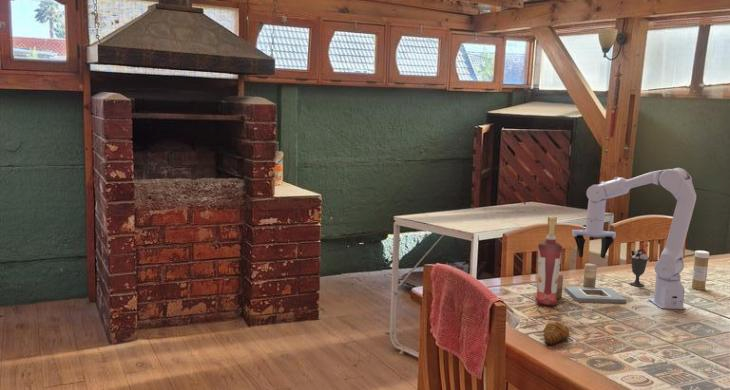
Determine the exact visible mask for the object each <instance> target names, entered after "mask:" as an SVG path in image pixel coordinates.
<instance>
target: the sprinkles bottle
mask: <svg viewBox="0 0 730 390" xmlns="http://www.w3.org/2000/svg"><path fill="white" fill-rule="evenodd" d="M709 259H710V252H709V251H706V250H701V249H700V250H695V252H694V261H693V262H694V264H693V271H692V277H691V278H692V282H691V288H692V289H693V290H699V291H703V290H705V289H706V282H707V276H708V269H709V268H708V267H709V266H708V265H709Z"/></svg>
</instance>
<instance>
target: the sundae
mask: <svg viewBox="0 0 730 390" xmlns="http://www.w3.org/2000/svg"><path fill="white" fill-rule="evenodd" d="M646 247H648V245H647V244H645V245H644V246H643V247H642V248H640V249H637V250H635V251H634V250H631V255H629V258H630V260H631V272H632V273H633V274H634V275H635V280H634V282H629V285H630V286H632V287H637V288H641V287H642V288H643V287H645V284H643V283H641V282H640V276H642V275H643V274H644V273H645V271H646V267H647V264H648V262H649V261H650V260H651V259H650V257H649V256H648V254H647V251H646V250H645V248H646Z"/></svg>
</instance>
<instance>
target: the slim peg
mask: <svg viewBox="0 0 730 390" xmlns="http://www.w3.org/2000/svg"><path fill="white" fill-rule="evenodd" d="M583 269H584V272H583V283H582V287H592V288H596V280H597V269H598V265H597V264H594V263H584V268H583Z"/></svg>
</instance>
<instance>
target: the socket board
mask: <svg viewBox="0 0 730 390" xmlns="http://www.w3.org/2000/svg"><path fill="white" fill-rule="evenodd" d="M564 291H565V293H567V294H568V295H569V296H570V297H571V298H572V299H573V300H574V301H576V302H577V303H607V304H610V303H611V304H612V303H613V304H626V303H627V299H626V298H625V297H624V296H622V295H621V294H619V292H618V291H616V290H615V289H613V288H611V287H595V288H592V287H583V286H564ZM588 294H589V295H588ZM590 294H597V295H590ZM598 294H601V295H598Z"/></svg>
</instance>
